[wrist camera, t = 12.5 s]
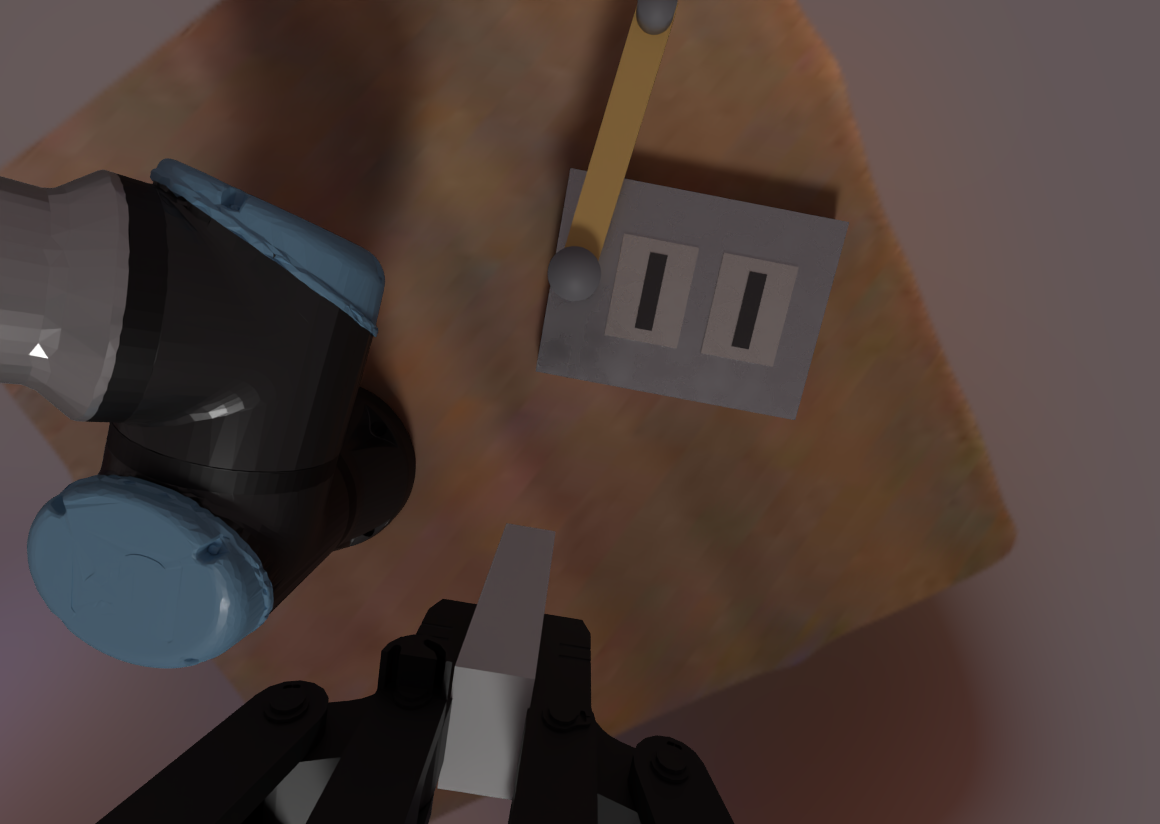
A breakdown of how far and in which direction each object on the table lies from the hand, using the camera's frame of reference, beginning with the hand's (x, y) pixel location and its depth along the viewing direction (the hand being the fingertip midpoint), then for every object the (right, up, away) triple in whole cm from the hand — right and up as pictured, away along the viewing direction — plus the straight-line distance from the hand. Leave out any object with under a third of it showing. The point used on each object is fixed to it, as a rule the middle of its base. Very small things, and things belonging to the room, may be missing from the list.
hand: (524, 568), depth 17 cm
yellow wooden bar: (+4, +23, +23) cm, 33 cm away
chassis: (+10, +14, +30) cm, 35 cm away
